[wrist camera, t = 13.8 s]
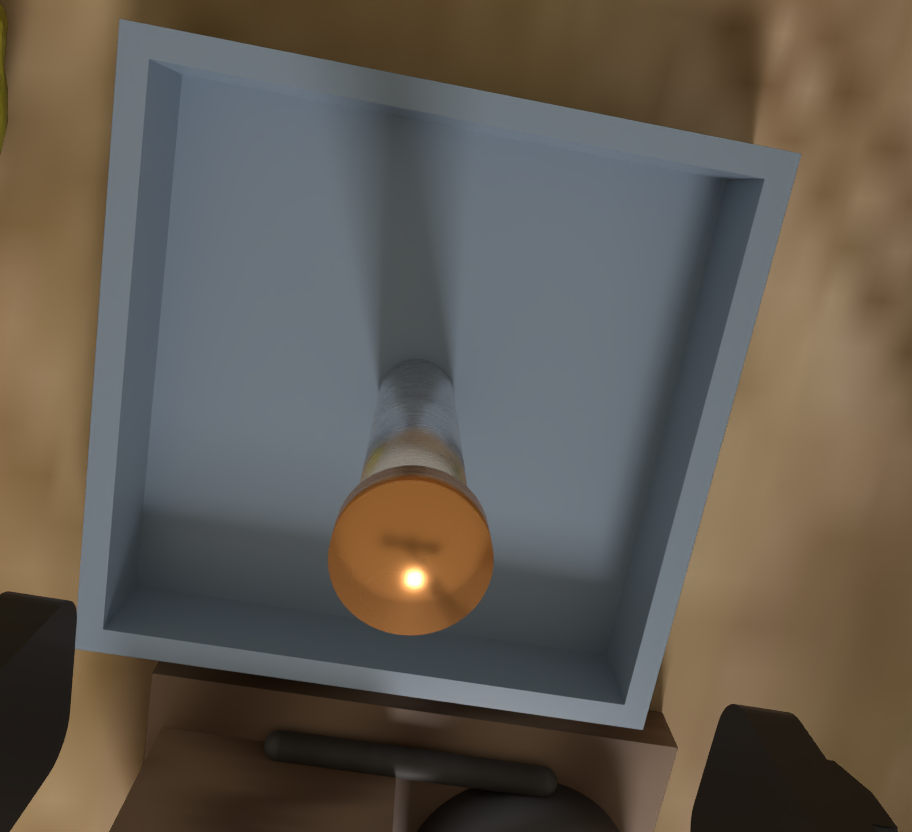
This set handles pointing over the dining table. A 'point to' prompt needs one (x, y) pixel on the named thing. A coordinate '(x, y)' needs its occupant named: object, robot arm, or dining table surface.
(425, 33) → the dining table surface
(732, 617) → the dining table surface
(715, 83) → the dining table surface
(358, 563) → the lock pin
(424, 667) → the tray
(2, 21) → the lemon
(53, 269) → the dining table surface
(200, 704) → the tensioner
